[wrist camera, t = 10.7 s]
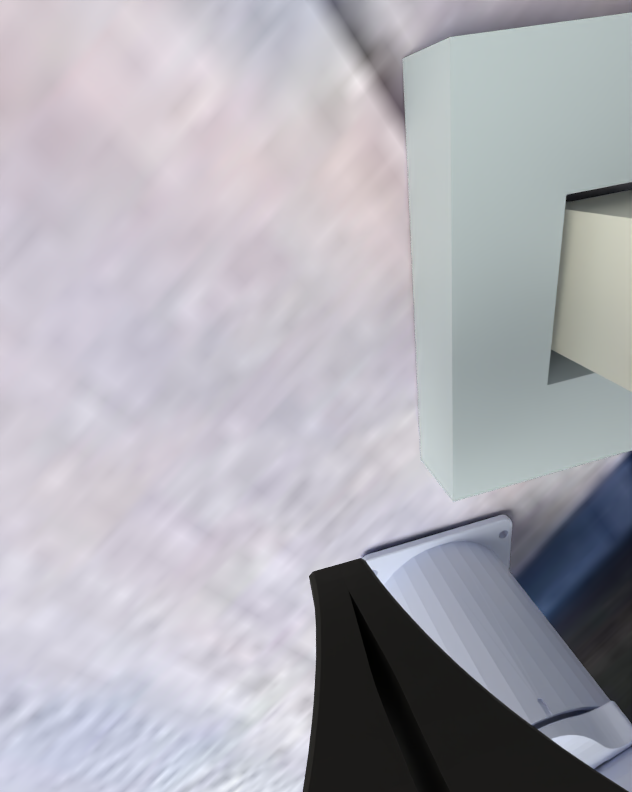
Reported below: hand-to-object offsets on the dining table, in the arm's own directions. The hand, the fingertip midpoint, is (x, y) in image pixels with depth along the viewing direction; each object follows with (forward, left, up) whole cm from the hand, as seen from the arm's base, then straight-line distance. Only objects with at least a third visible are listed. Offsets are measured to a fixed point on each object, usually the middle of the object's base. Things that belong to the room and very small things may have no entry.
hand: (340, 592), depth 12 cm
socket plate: (+4, -12, -8) cm, 15 cm away
